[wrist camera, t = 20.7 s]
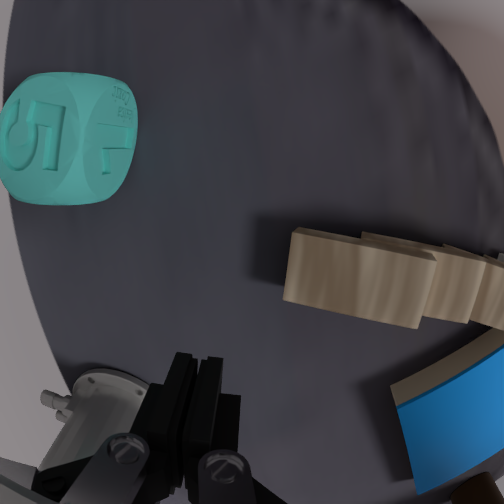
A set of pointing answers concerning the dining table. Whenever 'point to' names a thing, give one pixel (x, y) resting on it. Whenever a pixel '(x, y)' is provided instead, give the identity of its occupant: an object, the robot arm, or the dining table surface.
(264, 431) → the dining table surface
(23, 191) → the decorative dice
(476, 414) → the book
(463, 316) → the domino
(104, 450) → the robot arm
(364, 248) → the domino
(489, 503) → the olive oil
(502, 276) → the domino
